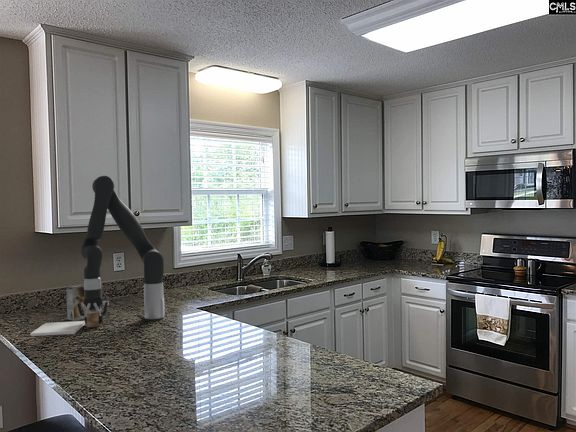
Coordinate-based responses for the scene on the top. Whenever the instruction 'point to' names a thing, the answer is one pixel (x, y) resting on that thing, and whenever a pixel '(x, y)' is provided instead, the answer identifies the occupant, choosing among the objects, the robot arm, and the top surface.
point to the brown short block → (93, 319)
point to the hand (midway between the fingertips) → (93, 323)
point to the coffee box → (75, 302)
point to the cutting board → (58, 328)
